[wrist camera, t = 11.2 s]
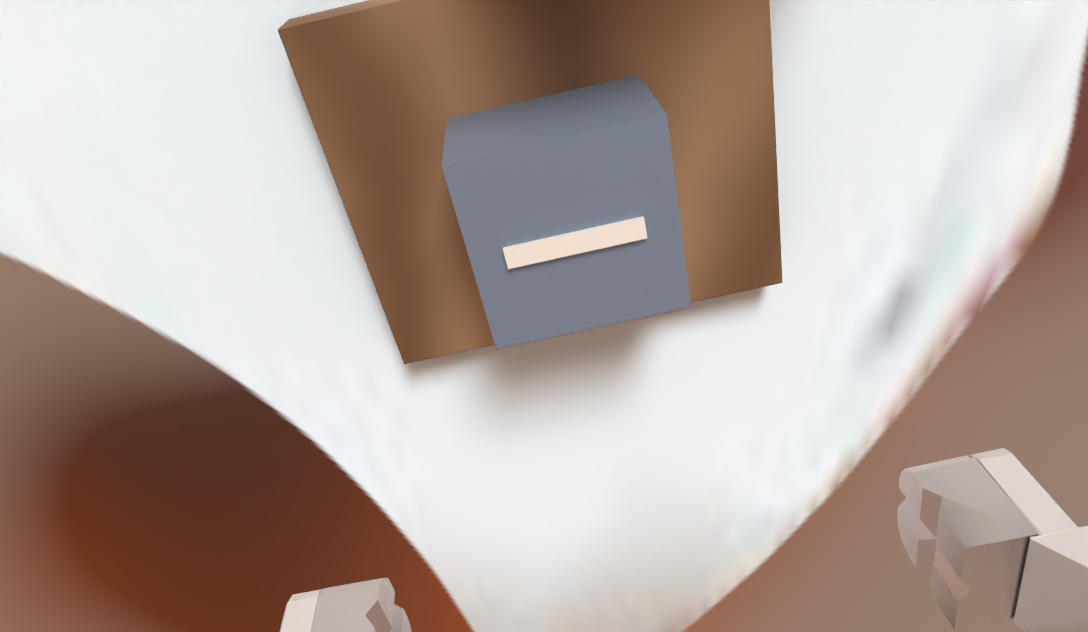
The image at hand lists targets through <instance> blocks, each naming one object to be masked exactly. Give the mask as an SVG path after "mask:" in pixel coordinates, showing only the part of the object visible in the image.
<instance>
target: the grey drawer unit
mask: <svg viewBox="0 0 1088 632" xmlns="http://www.w3.org/2000/svg"><path fill="white" fill-rule="evenodd" d="M442 169H443V172H444V176H445V179H446V182H447V186H448V189H449V192H450V196H451V199H452V202H453V206H454V209H455V212H456V216H457V219H458V223H459V226H460V229H461V233H462V236H463V239H464V243H465V246H466V249H467V253H468V256H469V259H470V263H471V266H472V270H473V273H474V276H475V280H476V283H477V286H478V290H479V293H480V296H481V300H482V303H483V306H484V310H485V313H486V317H487V320H488V323H489V327H490V330H491V333H492V337H493V340H494V343H495V347H496V349H501V348H505V347H510V346H515V345H519V344H524V343H528V342H533V341H538V340H542V339H547V338H551V337H556V336H561V335H565V334H570V333H574V332H579V331H584V330H588V329H593V328H598V327H602V326H607V325H611V324H616V323H621V322H625V321H630V320H634V319H639V318H644V317H648V316H653V315H657V314H662V313H667V312H671V311H676V310H681V309H685V308H690V307H691V302H690V294H689V287H688V279H687V271H686V263H685V255H684V247H683V239H682V231H681V223H680V215H679V207H678V199H677V191H676V183H675V175H674V167H673V159H672V151H671V143H670V135H669V127H668V119H667V114H666V112H665V111H664V110H663V108H662V107H661V105H660V104H659V102H658V101H657V99H656V98H655V97H654V95H653V94H652V92H651V91H650V89H649V88H648V86H647V85H646V84H645V82H644V81H643V79H642V78H641V76H640V75H635V76H631V77H626V78H622V79H618V80H613V81H609V82H605V83H601V84H596V85H592V86H588V87H583V88H579V89H575V90H570V91H566V92H562V93H558V94H553V95H549V96H545V97H540V98H536V99H532V100H527V101H523V102H519V103H514V104H510V105H506V106H502V107H497V108H493V109H489V110H484V111H480V112H476V113H471V114H467V115H463V116H459V117H454V118H450V119H447V123H446V132H445V141H444V150H443V159H442Z"/></svg>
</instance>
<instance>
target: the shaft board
mask: <svg viewBox="0 0 1088 632" xmlns="http://www.w3.org/2000/svg"><path fill="white" fill-rule="evenodd" d="M278 32H279V35H280V38H281V40H282V43H283V45H284V48H285V51H286V53H287V56H288V59H289V61H290V64H291V67H292V69H293V72H294V74H295V77H296V80H297V82H298V85H299V88H300V90H301V93H302V96H303V98H304V101H305V103H306V106H307V109H308V111H309V114H310V117H311V119H312V122H313V125H314V127H315V130H316V132H317V135H318V138H319V140H320V143H321V146H322V148H323V151H324V154H325V156H326V159H327V161H328V164H329V167H330V169H331V172H332V175H333V177H334V180H335V183H336V185H337V188H338V190H339V193H340V196H341V198H342V201H343V204H344V206H345V209H346V212H347V214H348V217H349V219H350V222H351V225H352V227H353V230H354V233H355V235H356V238H357V241H358V243H359V246H360V249H361V251H362V254H363V256H364V259H365V262H366V264H367V267H368V270H369V272H370V275H371V278H372V280H373V283H374V285H375V288H376V291H377V293H378V296H379V299H380V301H381V304H382V307H383V309H384V312H385V314H386V317H387V320H388V322H389V325H390V328H391V330H392V333H393V336H394V338H395V341H396V343H397V346H398V349H399V351H400V354H401V357H402V359H403V362H404V364H407V363H412V362H416V361H421V360H426V359H430V358H435V357H440V356H444V355H449V354H453V353H458V352H463V351H467V350H472V349H477V348H481V347H486V346H491V345H495V343H494V340H493V337H492V333H491V330H490V327H489V323H488V320H487V317H486V313H485V310H484V306H483V303H482V300H481V296H480V293H479V290H478V286H477V283H476V280H475V276H474V273H473V270H472V266H471V263H470V259H469V256H468V253H467V249H466V246H465V243H464V239H463V236H462V233H461V229H460V226H459V223H458V219H457V216H456V212H455V209H454V206H453V202H452V199H451V196H450V192H449V189H448V186H447V182H446V179H445V176H444V172H443V169H442V159H443V150H444V141H445V132H446V123H447V119H450V118H454V117H459V116H463V115H467V114H471V113H476V112H480V111H484V110H489V109H493V108H497V107H502V106H506V105H510V104H514V103H519V102H523V101H527V100H532V99H536V98H540V97H545V96H549V95H553V94H558V93H562V92H566V91H570V90H575V89H579V88H583V87H588V86H592V85H596V84H601V83H605V82H609V81H613V80H618V79H622V78H626V77H631V76H635V75H640V76H641V78H642V79H643V81H644V82H645V84H646V85H647V86H648V88H649V89H650V91H651V92H652V94H653V95H654V97H655V98H656V99H657V101H658V102H659V104H660V105H661V107H662V108H663V110H664V111H665V112H666V114H667V119H668V127H669V135H670V143H671V151H672V159H673V167H674V175H675V183H676V191H677V199H678V207H679V215H680V223H681V231H682V239H683V247H684V255H685V263H686V271H687V279H688V287H689V294H690V302H695V301H700V300H704V299H709V298H714V297H718V296H723V295H728V294H732V293H737V292H742V291H746V290H751V289H755V288H760V287H765V286H769V285H774V284H779V283H782V265H781V244H780V222H779V200H778V179H777V157H776V136H775V114H774V92H773V71H772V49H771V27H770V6H769V0H369V1H365V2H360V3H356V4H352V5H348V6H344V7H339V8H335V9H331V10H327V11H323V12H318V13H314V14H310V15H306V16H302V17H298V18H293V19H289V20H288V21H287V22H286V23H285V24H283V25H282V26H281V27H280V28H279V29H278Z"/></svg>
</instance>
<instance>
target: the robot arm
mask: <svg viewBox="0 0 1088 632" xmlns="http://www.w3.org/2000/svg"><path fill="white" fill-rule="evenodd" d="M899 482H900V483H899V488H900V490H901V491H902V492H903V494H904V495H905V497H906V499H905V500H904V501H903V502H902V503H901V505H900V506H899V507H898V527H899V531H900V535H901V539H902V542H903V544H904V546H905V549H906V551H907V554H908V555H909V557H910V559H911V560H912V562H913V564H914V565H915V567H916V568H917V569H919V570H921V571H922V572H924V573H926V574H928V575H929V576H931V577H932V585H931V593H932V595H933V597H934V598H935V600H936V601H937V603H938V605H939V606H940V608H941V609H942V611H943V613H944V614H945V616H946V618H947V619H948V621H949V622H950V624H951V626H952V627H953V629H954V630H959V629H964V628H970V627H976V626H982V625H988V624H994V623H1000V622H1006V621H1012V620H1014V621H1013V624H1015V625H1016V626H1018V627H1019V628H1021V629H1022V630H1023V631H1025V632H1088V526H1084V527H1077V526H1076V525H1075V524H1074V523H1073V521H1072V520H1071V519H1070V518H1069V517H1068V516H1067V514H1066V513H1065V512H1064V511H1063V510H1062V509H1061V508H1060V507H1059V506H1058V504H1057V503H1056V502H1055V501H1054V500H1053V499H1052V498H1051V497H1050V496H1049V494H1048V493H1047V492H1046V491H1045V490H1044V489H1043V488H1042V487H1041V485H1040V484H1039V483H1038V482H1037V481H1036V480H1035V479H1034V478H1033V477H1032V475H1031V474H1030V473H1029V472H1028V471H1027V470H1026V469H1025V468H1024V466H1023V465H1022V464H1021V463H1020V462H1019V461H1018V460H1017V459H1016V458H1015V456H1014V455H1013V454H1012V453H1011V452H1009V451H1007V450H1006V449H1004V448H1002V449H997V450H992V451H987V452H983V453H978V454H973V455H970V456H962V457H957V458H952V459H948V460H943V461H939V462H934V463H930V464H925V465H921V466H916V467H911V468H907V469H904V470H903V471H902V473H901V475H900V481H899ZM394 596H395V590H394V589H393V587H392V585H391V583H390V581H389V579H388V578H381V579H375V580H370V581H364V582H359V583H353V584H348V585H342V586H336V587H331V588H325V589H321V590H316V591H311V592H306V593H300V594H295V595H292V597H291V599H290V600H289V602H288V603H287V605H286V609H285V613H284V617H283V621H282V625H281V629H280V632H412V631H411V628H410V624H409V620H408V617H407V615H406V613H405V611H404V609H403V608H400V607H399V606H397V605H395V604H394Z"/></svg>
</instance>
